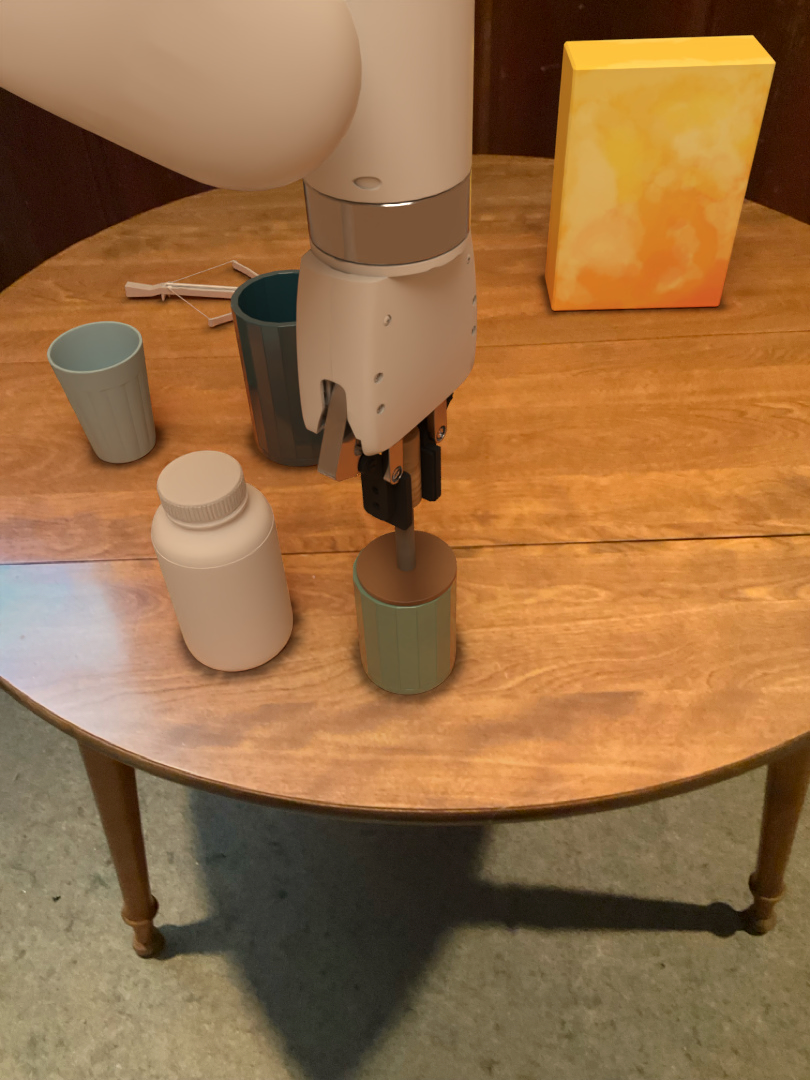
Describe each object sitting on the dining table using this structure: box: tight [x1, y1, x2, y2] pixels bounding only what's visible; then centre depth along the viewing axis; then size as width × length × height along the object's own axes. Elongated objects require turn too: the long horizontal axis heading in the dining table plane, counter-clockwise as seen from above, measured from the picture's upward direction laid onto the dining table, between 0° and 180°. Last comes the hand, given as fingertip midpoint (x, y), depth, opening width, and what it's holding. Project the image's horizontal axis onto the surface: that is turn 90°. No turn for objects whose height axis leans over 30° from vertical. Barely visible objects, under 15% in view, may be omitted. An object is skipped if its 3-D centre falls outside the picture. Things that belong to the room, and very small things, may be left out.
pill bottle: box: [150, 449, 294, 673], centre depth 62 cm, size 8×8×15 cm
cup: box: [46, 320, 157, 464], centre depth 80 cm, size 8×8×10 cm
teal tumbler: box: [230, 268, 324, 468], centre depth 79 cm, size 9×9×14 cm
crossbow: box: [124, 259, 259, 327], centre depth 101 cm, size 16×13×2 cm
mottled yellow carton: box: [544, 34, 777, 312], centre depth 93 cm, size 18×12×24 cm
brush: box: [356, 426, 458, 606], centre depth 58 cm, size 6×6×19 cm
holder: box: [352, 547, 458, 696], centre depth 62 cm, size 7×7×9 cm
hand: (402, 503), depth 55 cm, fingers closed on brush, 2 cm apart
